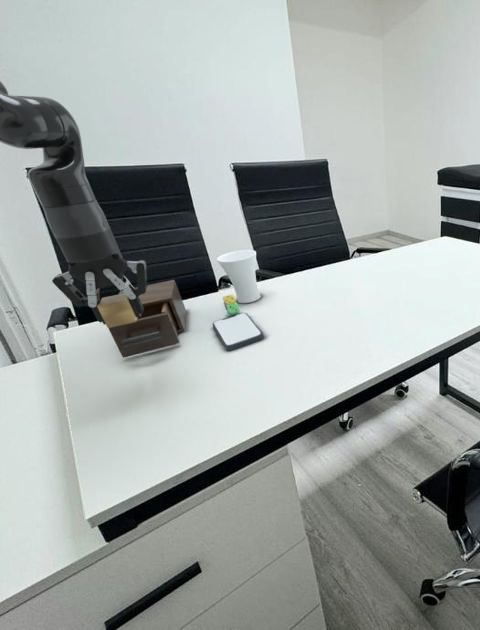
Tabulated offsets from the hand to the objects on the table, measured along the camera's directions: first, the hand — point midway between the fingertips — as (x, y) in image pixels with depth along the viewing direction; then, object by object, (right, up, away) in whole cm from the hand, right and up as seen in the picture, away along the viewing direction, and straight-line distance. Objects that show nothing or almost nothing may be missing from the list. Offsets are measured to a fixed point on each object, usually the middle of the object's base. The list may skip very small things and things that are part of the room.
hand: (123, 318), depth 73 cm
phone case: (+11, -4, +23) cm, 26 cm away
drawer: (-8, -6, +20) cm, 22 cm away
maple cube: (0, 0, 0) cm, 0 cm away
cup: (+6, +5, +42) cm, 43 cm away
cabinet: (-13, -3, +29) cm, 32 cm away
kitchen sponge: (+6, 0, +32) cm, 32 cm away
